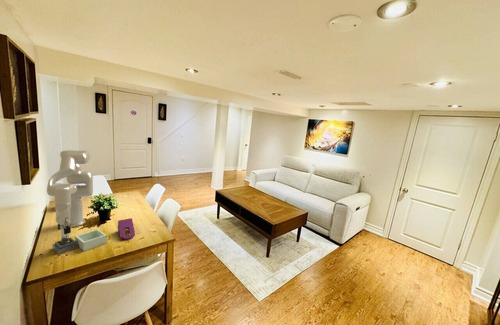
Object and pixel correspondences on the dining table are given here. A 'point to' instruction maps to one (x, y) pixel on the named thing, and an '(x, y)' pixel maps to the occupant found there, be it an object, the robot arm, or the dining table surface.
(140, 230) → the dining table surface
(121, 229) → the mounting bracket
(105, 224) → the dining table surface
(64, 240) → the grey rounded piece
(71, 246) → the socket block
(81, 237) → the bin
